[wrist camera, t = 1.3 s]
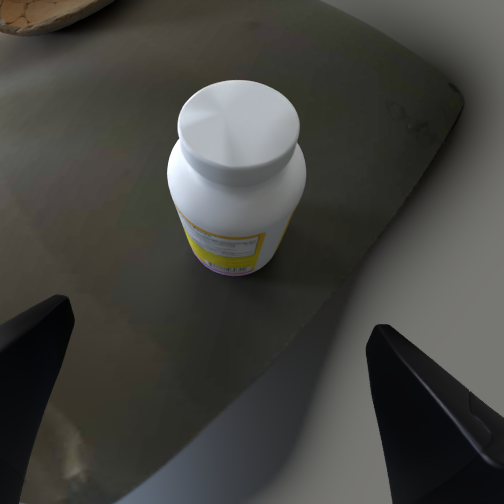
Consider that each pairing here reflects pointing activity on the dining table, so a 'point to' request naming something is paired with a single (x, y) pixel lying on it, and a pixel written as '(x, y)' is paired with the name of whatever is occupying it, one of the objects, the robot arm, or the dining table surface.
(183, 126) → the supplement bottle
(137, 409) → the dining table surface
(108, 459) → the dining table surface
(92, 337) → the dining table surface
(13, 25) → the ceramic bowl
